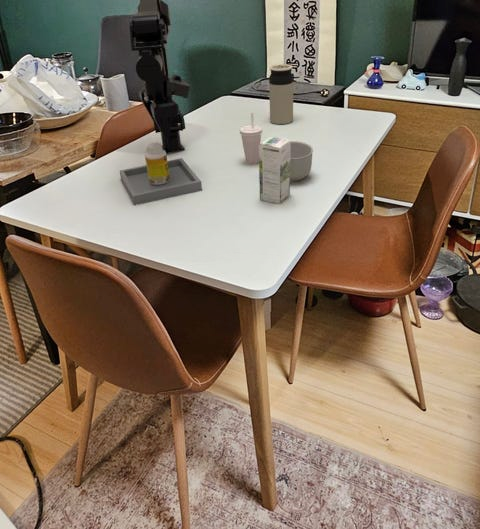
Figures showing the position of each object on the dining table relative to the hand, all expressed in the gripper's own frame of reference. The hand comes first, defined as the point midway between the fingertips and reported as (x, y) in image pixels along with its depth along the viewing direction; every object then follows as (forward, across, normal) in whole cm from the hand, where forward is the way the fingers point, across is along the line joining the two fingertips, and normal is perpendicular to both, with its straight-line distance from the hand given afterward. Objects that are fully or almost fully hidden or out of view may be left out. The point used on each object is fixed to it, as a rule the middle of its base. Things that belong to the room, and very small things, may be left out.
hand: (162, 132), depth 130 cm
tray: (+12, -4, +4) cm, 14 cm away
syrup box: (+12, -26, -21) cm, 35 cm away
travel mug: (+14, +26, -47) cm, 56 cm away
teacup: (+13, -16, -28) cm, 35 cm away
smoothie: (+13, -2, -24) cm, 28 cm away
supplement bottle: (+12, -4, +4) cm, 13 cm away
